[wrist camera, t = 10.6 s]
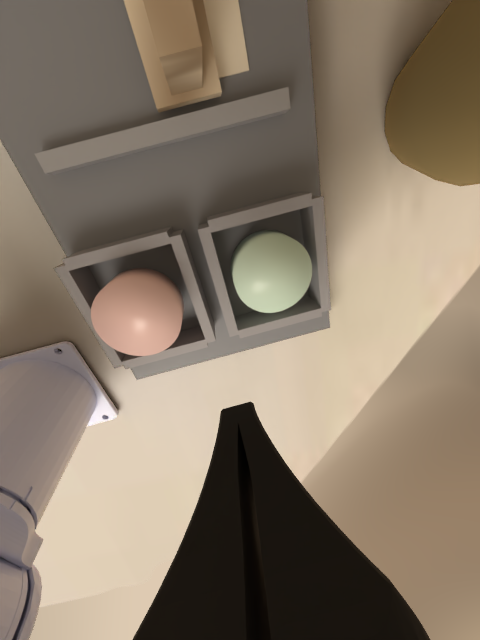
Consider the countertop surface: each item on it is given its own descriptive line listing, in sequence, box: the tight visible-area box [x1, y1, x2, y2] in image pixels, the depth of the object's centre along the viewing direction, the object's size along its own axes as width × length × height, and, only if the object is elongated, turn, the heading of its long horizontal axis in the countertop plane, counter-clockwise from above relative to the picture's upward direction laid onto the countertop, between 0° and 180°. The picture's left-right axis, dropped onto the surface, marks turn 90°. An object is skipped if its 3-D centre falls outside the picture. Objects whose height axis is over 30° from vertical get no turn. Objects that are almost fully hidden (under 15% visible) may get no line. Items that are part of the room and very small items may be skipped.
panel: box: [0, 0, 331, 380], centre depth 13 cm, size 15×22×4 cm
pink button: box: [91, 268, 184, 356], centre depth 14 cm, size 4×4×2 cm
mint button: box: [230, 230, 312, 313], centre depth 15 cm, size 4×4×2 cm
